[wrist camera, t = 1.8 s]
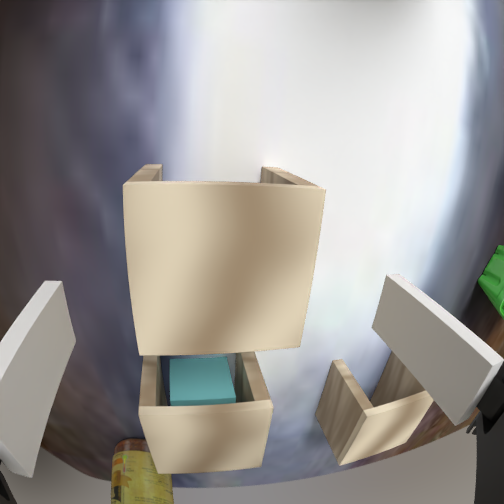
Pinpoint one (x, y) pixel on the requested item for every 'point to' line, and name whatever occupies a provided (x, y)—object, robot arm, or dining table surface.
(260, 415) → the cover
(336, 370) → the cover
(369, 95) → the dining table surface
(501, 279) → the fruit basket
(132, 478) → the sauce bottle
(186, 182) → the cover
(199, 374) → the teal cube
